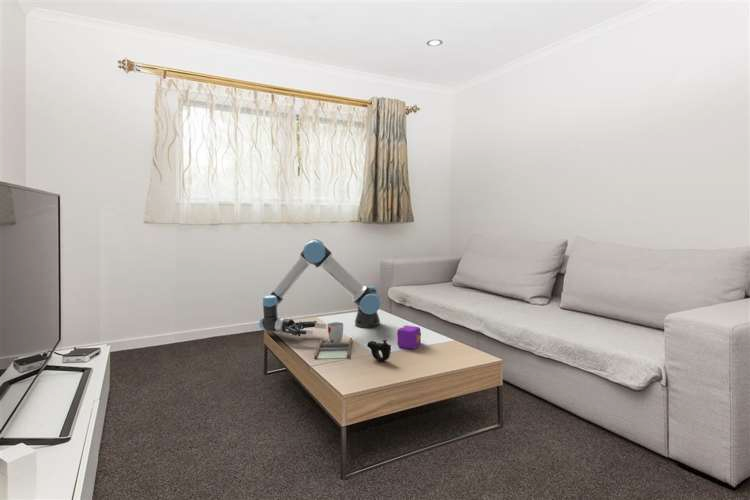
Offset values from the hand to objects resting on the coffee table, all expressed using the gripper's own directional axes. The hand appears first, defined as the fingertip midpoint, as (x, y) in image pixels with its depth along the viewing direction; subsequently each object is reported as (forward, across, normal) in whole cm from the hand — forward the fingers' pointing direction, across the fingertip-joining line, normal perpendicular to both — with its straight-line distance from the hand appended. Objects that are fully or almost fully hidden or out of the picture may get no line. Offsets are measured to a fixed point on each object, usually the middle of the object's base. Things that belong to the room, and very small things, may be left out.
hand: (319, 329), depth 218 cm
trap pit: (+13, +7, -7) cm, 16 cm away
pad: (+17, +16, -7) cm, 24 cm away
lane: (+13, +8, -7) cm, 17 cm away
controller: (+40, +15, -7) cm, 44 cm away
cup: (+9, -1, -7) cm, 12 cm away
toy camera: (+46, -11, -7) cm, 48 cm away
